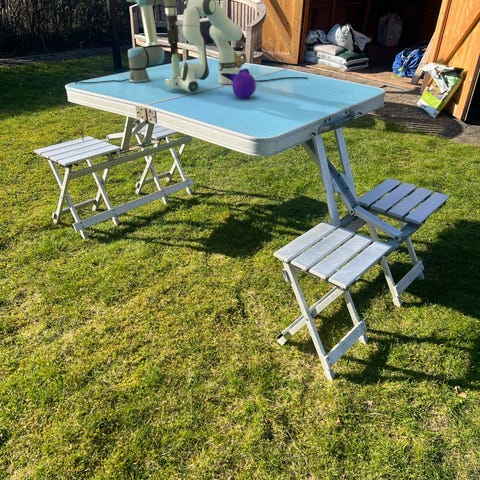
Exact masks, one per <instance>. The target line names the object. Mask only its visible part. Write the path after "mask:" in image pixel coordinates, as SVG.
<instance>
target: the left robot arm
mask: <svg viewBox="0 0 480 480" xmlns="http://www.w3.org/2000/svg"><path fill="white" fill-rule="evenodd" d="M125 1H126V2H127V3H136V4H137V7H139V8H140V14H141V20H142V26H143V32H144V37H145V45H144V47H143V46H136V47H132V48H129V49H127V57H128V66H129V76H128V78H126V79H121V80H120V79H119V80H117V79H111V80H101V81H81V80H79V81H75V82H74V83H75V84H76V85H77V84H79V83H80V84H100V83H111V82H117V83H118V82H119V83H121V82H127V81H128V82H129V83H133V84H141V83H148V82H150V76H149V74H148V71H147V67H146V66H155V65H161V64H163V63H164V61H165V50H164V47H162V46H161V44H160V42H158V34H157V28H156V22H155V16H154V10H153V9H154V8H153V6H154V5H155V6H156V5H158V6H159V5H164V14H165V22H167V25H168V26H166V32H167V41H168V42H167V43H168V44H169V46H170V55H172V54H175V49H177V50H178V51H179V48H178V47H179V46H178V45H179V44H178V43H179V42H180V41H179V25H178V24H177V22H178V20H179V19H178V7H177V0H125ZM75 84H74V85H75ZM80 134H81V139H82V141H83V142H84V141H85V140H84V134H83V129H82V128H80Z"/></svg>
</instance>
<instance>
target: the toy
mask: <svg viewBox="0 0 480 480" xmlns="http://www.w3.org/2000/svg"><path fill="white" fill-rule="evenodd" d="M221 75H222V76H224V77H226V78H228V79H230V80H231V81H232V82H233V84H231V85H232V91H233V94H234V95H235V96H237V97H238V98H240V99H250V97H252V96H253V95H254V94H255V92H256V90H257V82H256V81H255V80H256V79H255V78H254V76H253V75H252V74H250V70H249V68H242V69H240V70H239V73H238V74H231V73H221Z"/></svg>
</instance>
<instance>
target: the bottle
mask: <svg viewBox="0 0 480 480" xmlns="http://www.w3.org/2000/svg"><path fill="white" fill-rule="evenodd" d="M171 55H172V56H171V68H172V70H171V71H172V78H177V77H180V69H181V66H180V59H179V56H178V54H171Z"/></svg>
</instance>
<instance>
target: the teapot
mask: <svg viewBox="0 0 480 480" xmlns="http://www.w3.org/2000/svg"><path fill="white" fill-rule="evenodd" d="M241 58H242V59H241ZM234 61H235V62H239V65H236V66H237V67H238V68H239V69H241V68H242V67H243V65H245V64H246V63H247V55H246V52H241V53H239V54H238V53H237V52H236V50H234Z"/></svg>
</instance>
